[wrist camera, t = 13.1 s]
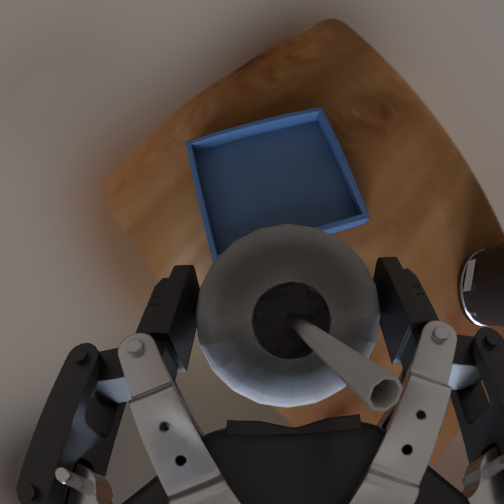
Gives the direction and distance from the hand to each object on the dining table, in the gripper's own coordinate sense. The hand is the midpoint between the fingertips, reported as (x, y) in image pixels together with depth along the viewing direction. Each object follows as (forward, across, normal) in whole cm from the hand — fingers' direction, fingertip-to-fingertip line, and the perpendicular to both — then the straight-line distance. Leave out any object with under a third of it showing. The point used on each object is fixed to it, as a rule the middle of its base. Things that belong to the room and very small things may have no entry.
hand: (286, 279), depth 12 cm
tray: (+22, 0, +5) cm, 22 cm away
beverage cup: (+7, 0, +9) cm, 12 cm away
